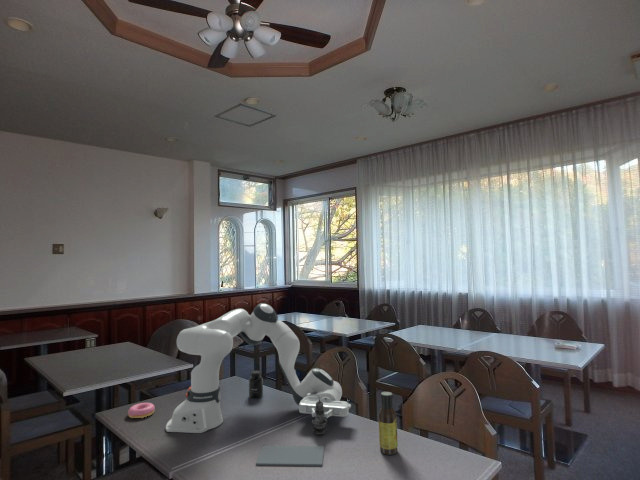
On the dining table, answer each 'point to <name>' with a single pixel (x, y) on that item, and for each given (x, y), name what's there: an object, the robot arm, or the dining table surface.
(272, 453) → the mat
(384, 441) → the sauce bottle
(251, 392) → the supplement bottle
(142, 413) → the doughnut
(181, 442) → the dining table surface
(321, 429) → the dark carved figurine
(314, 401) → the robot arm
